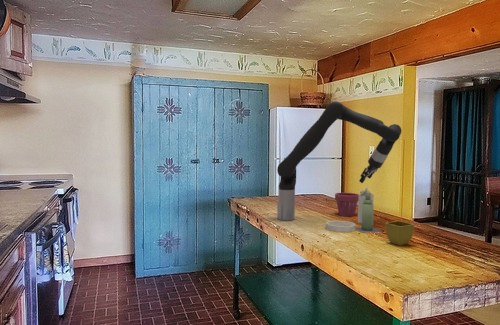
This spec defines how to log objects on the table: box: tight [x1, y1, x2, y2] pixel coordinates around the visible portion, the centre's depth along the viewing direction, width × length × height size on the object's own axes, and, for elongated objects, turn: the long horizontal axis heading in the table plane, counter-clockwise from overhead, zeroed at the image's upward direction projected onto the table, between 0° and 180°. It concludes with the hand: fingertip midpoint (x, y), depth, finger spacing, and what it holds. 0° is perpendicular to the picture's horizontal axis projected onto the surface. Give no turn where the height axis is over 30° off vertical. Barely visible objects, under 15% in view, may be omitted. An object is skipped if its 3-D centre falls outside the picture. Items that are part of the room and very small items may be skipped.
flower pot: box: [384, 220, 415, 246], centre depth 165 cm, size 9×9×9 cm
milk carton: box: [357, 187, 374, 224], centre depth 207 cm, size 7×7×19 cm
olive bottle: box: [360, 192, 375, 231], centre depth 189 cm, size 6×6×18 cm
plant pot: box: [334, 192, 360, 217], centre depth 228 cm, size 14×14×13 cm
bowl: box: [325, 220, 357, 233], centre depth 191 cm, size 14×14×3 cm
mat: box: [355, 226, 384, 234], centre depth 189 cm, size 11×11×1 cm
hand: (364, 179), depth 212 cm, fingers open, 8 cm apart
